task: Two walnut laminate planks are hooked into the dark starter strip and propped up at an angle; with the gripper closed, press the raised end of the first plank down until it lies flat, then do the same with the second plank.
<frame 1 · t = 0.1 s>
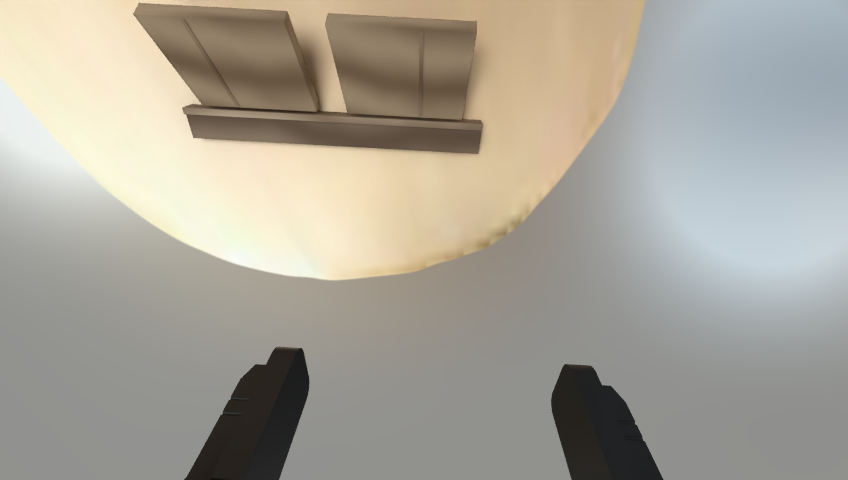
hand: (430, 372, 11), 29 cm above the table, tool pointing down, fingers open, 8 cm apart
plank a: (239, 64, 30), point 4 cm above the table, hinge at 35.0°
plank b: (403, 73, 30), point 4 cm above the table, hinge at 35.0°
starter strip: (337, 127, 36), on the table
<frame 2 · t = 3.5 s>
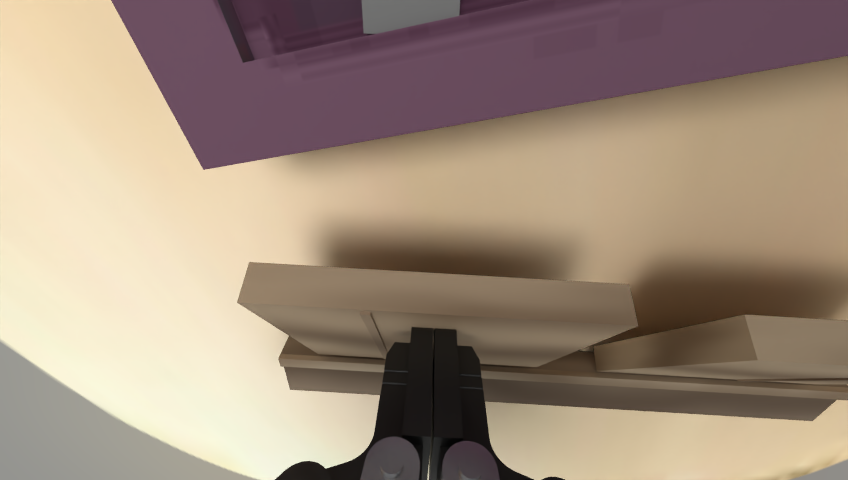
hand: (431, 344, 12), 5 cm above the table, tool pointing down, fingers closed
plank a: (431, 329, 14), point 3 cm above the table, hinge at 30.5°, touching gripper
plank b: (791, 360, 14), point 4 cm above the table, hinge at 35.0°
starter strip: (550, 368, 20), on the table
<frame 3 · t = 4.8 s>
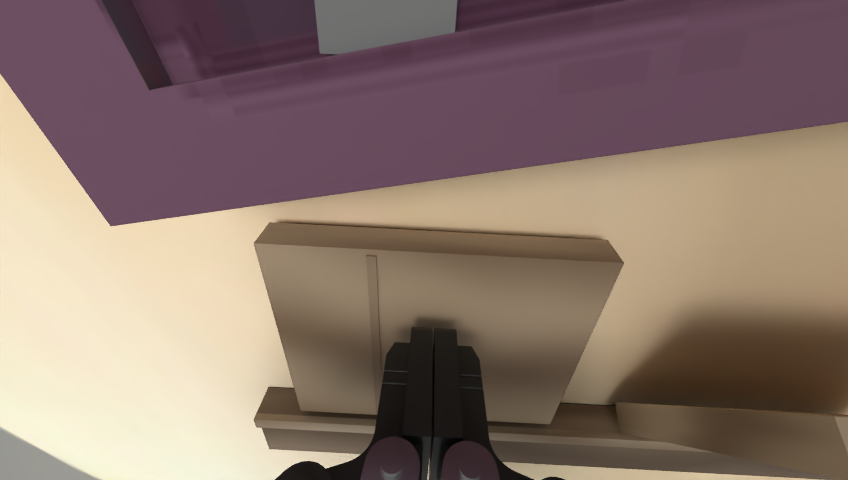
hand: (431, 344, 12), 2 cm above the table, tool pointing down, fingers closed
plank a: (430, 339, 13), point 1 cm above the table, hinge at 2.2°
starter strip: (564, 421, 17), on the table
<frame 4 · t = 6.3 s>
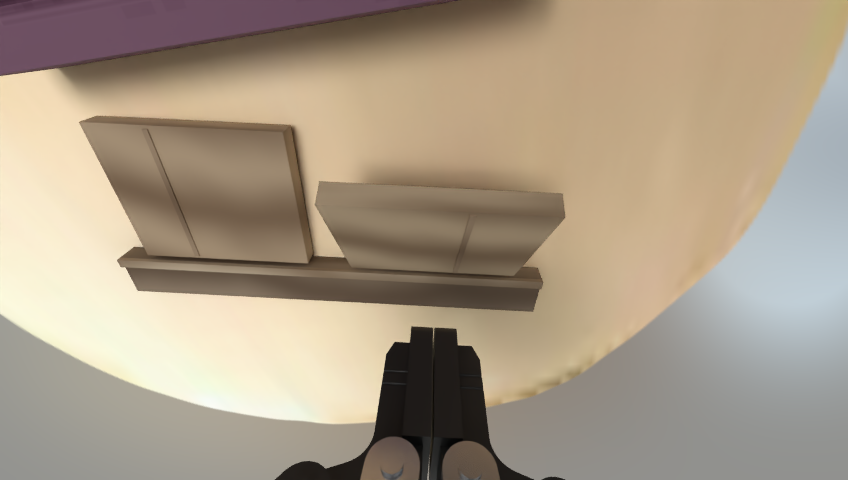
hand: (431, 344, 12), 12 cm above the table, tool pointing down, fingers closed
plank a: (211, 196, 22), point 1 cm above the table, hinge at 2.2°
plank b: (435, 238, 20), point 4 cm above the table, hinge at 35.0°
starter strip: (337, 273, 26), on the table
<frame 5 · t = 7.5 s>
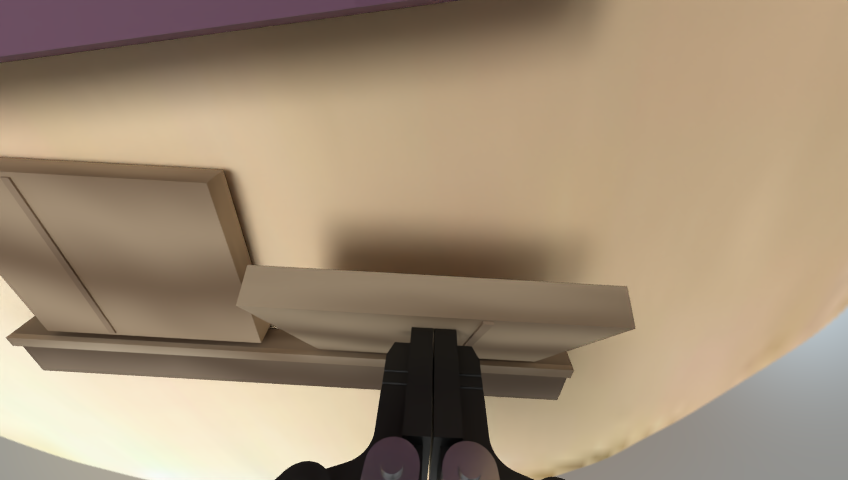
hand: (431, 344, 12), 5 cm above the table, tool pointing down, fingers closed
plank a: (123, 261, 16), point 1 cm above the table, hinge at 2.2°
plank b: (430, 327, 14), point 3 cm above the table, hinge at 32.5°, touching gripper
starter strip: (303, 348, 20), on the table
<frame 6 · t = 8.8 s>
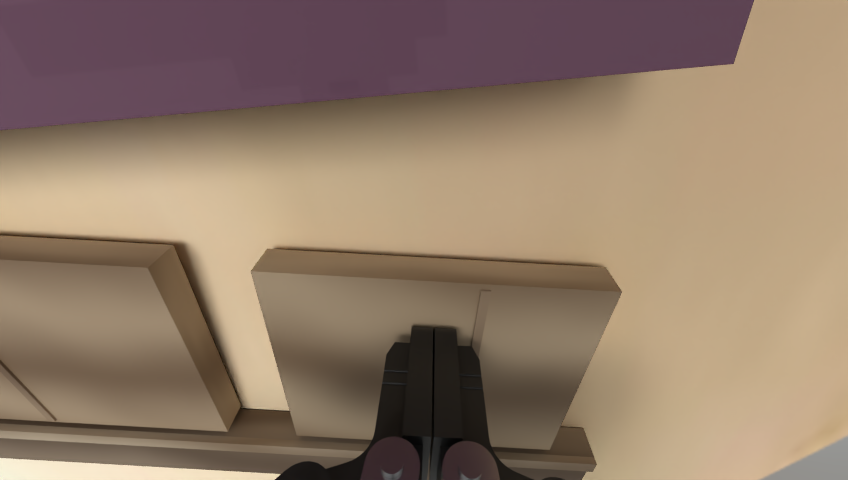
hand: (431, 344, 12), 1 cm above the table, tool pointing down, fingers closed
plank a: (59, 344, 13), point 1 cm above the table, hinge at 2.2°
plank b: (428, 364, 13), point 1 cm above the table, hinge at 1.6°, touching gripper
starter strip: (280, 429, 17), on the table
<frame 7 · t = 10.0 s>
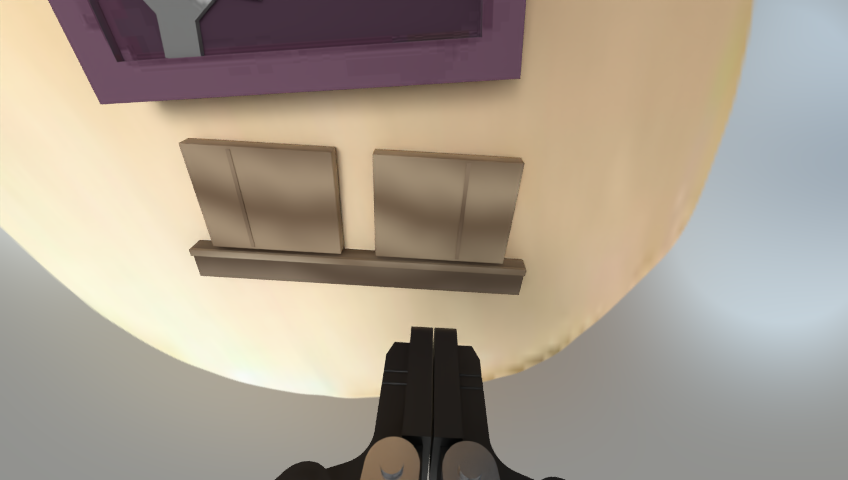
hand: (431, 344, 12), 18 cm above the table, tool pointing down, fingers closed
plank a: (269, 200, 28), point 1 cm above the table, hinge at 2.2°
plank b: (443, 210, 28), point 1 cm above the table, hinge at 1.5°
starter strip: (361, 263, 32), on the table
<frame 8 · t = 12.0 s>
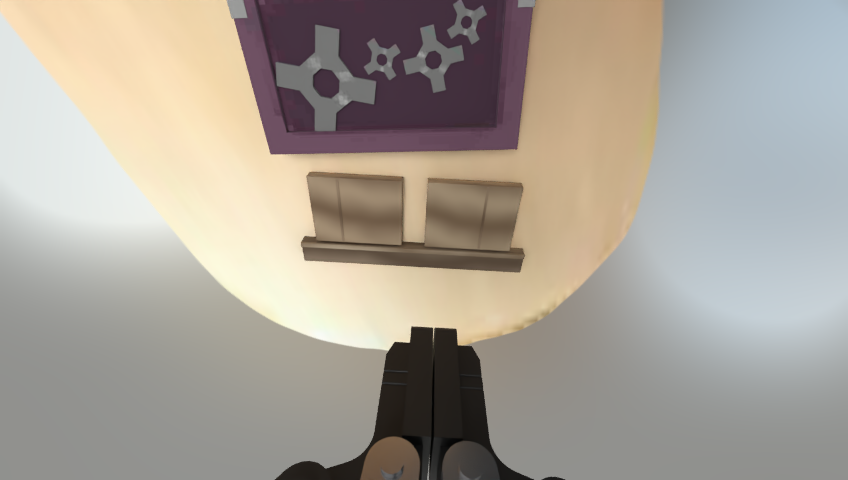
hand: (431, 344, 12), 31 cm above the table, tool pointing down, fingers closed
plank a: (357, 210, 43), point 1 cm above the table, hinge at 2.2°
plank b: (470, 216, 43), point 1 cm above the table, hinge at 1.5°
purple gear tray: (391, 57, 36), on the table
starter strip: (413, 251, 47), on the table
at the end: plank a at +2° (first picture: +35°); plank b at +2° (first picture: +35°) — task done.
